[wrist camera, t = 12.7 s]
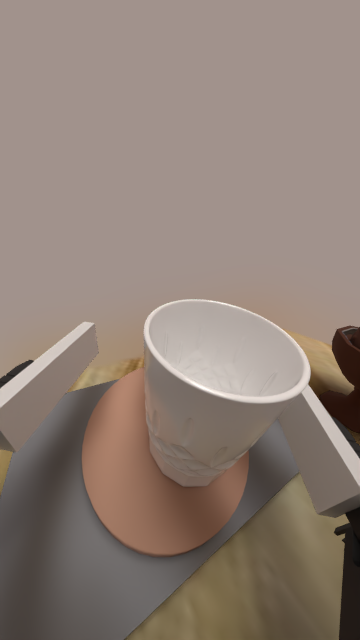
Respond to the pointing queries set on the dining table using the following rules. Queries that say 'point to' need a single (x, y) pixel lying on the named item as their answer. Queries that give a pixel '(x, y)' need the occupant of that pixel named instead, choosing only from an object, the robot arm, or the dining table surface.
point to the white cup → (214, 385)
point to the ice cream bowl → (356, 365)
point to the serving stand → (113, 517)
